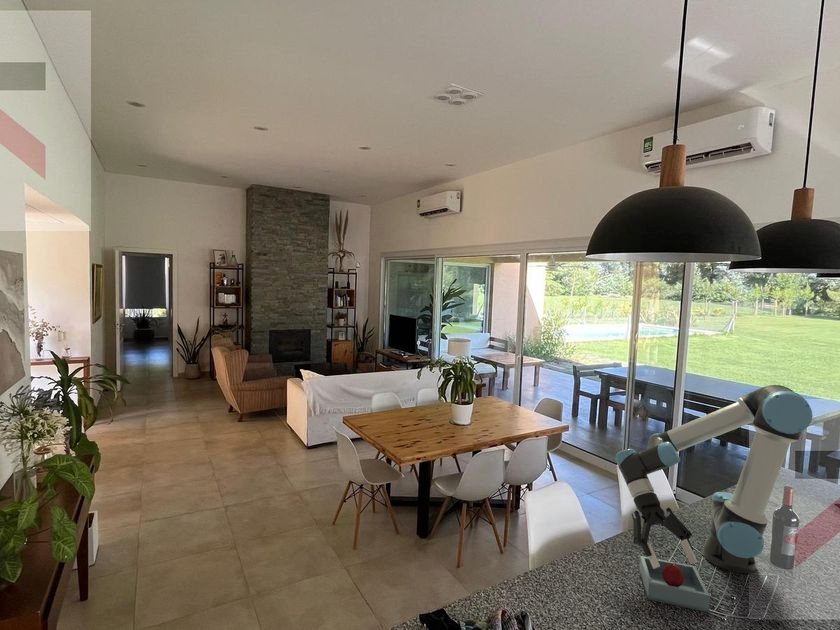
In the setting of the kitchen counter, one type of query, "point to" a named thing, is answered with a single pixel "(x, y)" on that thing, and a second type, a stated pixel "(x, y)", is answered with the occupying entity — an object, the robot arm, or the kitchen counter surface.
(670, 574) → the onion
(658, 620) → the kitchen counter surface
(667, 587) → the bin
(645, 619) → the kitchen counter surface
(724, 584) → the kitchen counter surface
